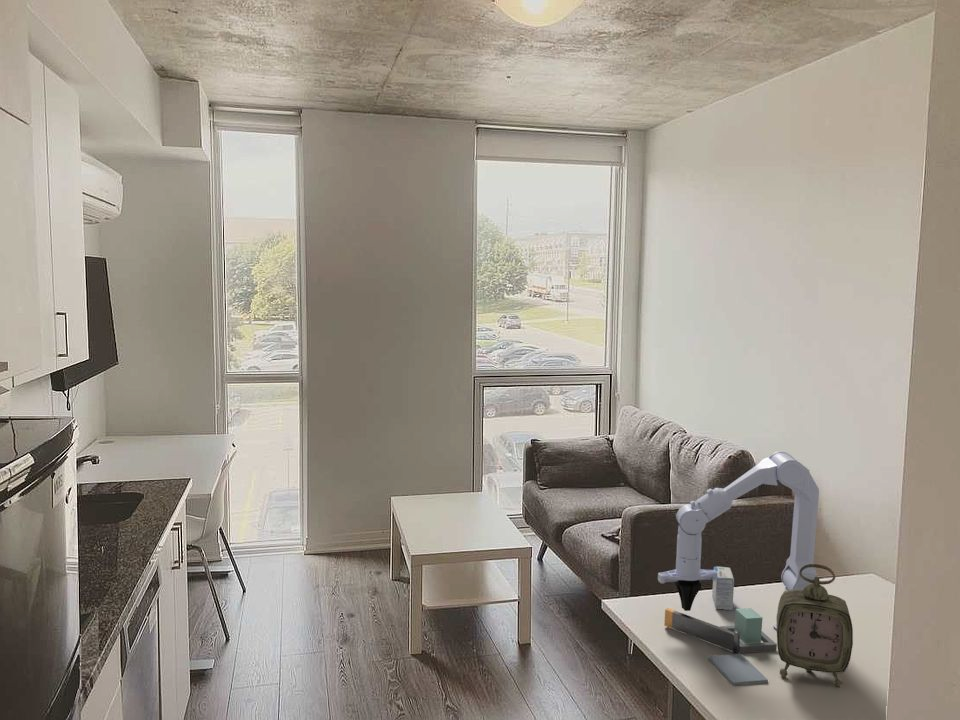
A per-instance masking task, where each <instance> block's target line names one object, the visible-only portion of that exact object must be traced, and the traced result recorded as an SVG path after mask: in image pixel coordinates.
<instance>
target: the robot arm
mask: <svg viewBox="0 0 960 720" xmlns="http://www.w3.org/2000/svg"><path fill="white" fill-rule="evenodd" d="M777 481H779V483H781V484H782V485H783V486H785V487H787V488H789V489H790V490H791V491H792V492H793V493H794V499H793V501H794V503H793V515H792V527H791V541H790V552H789V553H790V554H789V557H788V558H787V559H786V561H785V568H784V569H783V570H782V572H781V576H780V578H781V582H782V584H783V585H784V586H785V587H784V588H785V589H784V591H788V590H804V588H805V587H806V586H807V585H809V584H813V583H810V582H807V581H805V580H804V579H803V578H802V577H801V576H800V574H799V571H800V569H801V568H802V567H803V566H805V565H808V564H815V563H814V560H815V559H814V558H815V551H816V550H815V549H816V536H817V523H818V511H819V498H820V497H819V496H820V488H819V487H818V485H817V483H816V481H815V480H814V478H813V476H812V474H811V473H810V469H808V468H807V467H806V466H805V465H804V464H802V463H801V462H800V461H798V460H797V459H795V458H794V457H793V456H792V455H790V454H789V453H788V452H785V451H782V450H781V451H775V452H774V453H772V454H770V456H767V457H764V458H762V459H761V460H760V461H759V462H758V463H757V464H756V465H755V466H753V467H752V468H751V469H749V470H748V471H746V472H745V473H744V474H742V475H741V476H739V477H738V478H737V479H735V480H734V481H732V482H731V483H730V484H728V485H727V486H726V487H724V488H723V487H722V488H721V487H715V488H713V489H712V488H709V489H706V494H704V495H703V496H702V495H701V496H700V497H699V498H698V499H696V500H691V501H690V502H689V504H684V505H682V506H681V507H679V509H678V511H677V512H676V514H675V519H676V522H677V523H678V527H677V528H678V529H677V536H676V537H677V538H676V558H675V559H676V560H675V569H672V570H667V571H663V572H658V573H657V581H658V582H659V583H660V584H665V583H674V585H675V587H676V589H677V593H678V595H679V599H680V604H681V605H680V606H681V609H683V610H684V611H685V612H690V611H691V609H692V606H693V603H694V600H695V598H696V596H697V595H698V593H699V591H700V590H701V589H702V583H701V582H700V581H705V580H706V581H708V580H709V581H710V580H712V581H713V580H717V572H716V571H715V570H714V569H704V568H703V569H701V563H702V562H701V559H702V558H701V557H702V544H703V543H702V541H703V538H702V532H703V531H704V530H705V528H706V524H707V523H710V522H711V521H713V520H715V518H718V517H719V516H721V515H722V514H724V513H725V512H727V511H728V510H730V509H731V507H732V504H733V501H734V500H736V499H738V498H739V497H742V496H743V495H745V494H747V493H748V492H751V491H752V490H754V489H756V488H758V487H759V486H761V485H770V486H778V482H777ZM802 575H803V576H804V577H805V578H808V579H810V580H814V578H815V577H818V574H817V569H816V567H809V568H806V569H804V570H803V571H802ZM772 626H773V628H774V629H775V630H776V631H777V624H773V625H772Z"/></svg>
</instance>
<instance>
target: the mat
mask: <svg viewBox="0 0 960 720" xmlns="http://www.w3.org/2000/svg"><path fill="white" fill-rule="evenodd" d="M707 659H708V660H709V661H710V662H711V664H713V666H714V667H715V668H716V669H717V670H718V671H719V672H720V673H721V674H722V675H723V676H724V677H725V679H726V680H727V681H728V682H729V683H730V684H731V685H732V686H737V685H738V686H739V685H751V684H753V685H754V683H755V684H766V683H769V679H768V678H767V677H765V675H764V674H763V673H762V672H761V671H760V670H759V669H758V668H756V666H754V664H753V663H752V662H751V661H750V660H749V659H747V658H746V657H745V656H744V654H743V653H738V654H736V653H732V654H724V655H723V654H722V655H721V654H720V655H708V657H707Z"/></svg>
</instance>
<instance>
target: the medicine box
mask: <svg viewBox="0 0 960 720" xmlns="http://www.w3.org/2000/svg"><path fill="white" fill-rule="evenodd" d="M713 570H715V571H716V572H717V580H712V594H711V595H712V597H711V598H712V601H713V603H714V608H716V610H721V609H724V611H731V610H732V611H733V608H734V590H735V589H734V588H735V578H734V575H733V572H732V569H731V567H726V566H714V567H713Z"/></svg>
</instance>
